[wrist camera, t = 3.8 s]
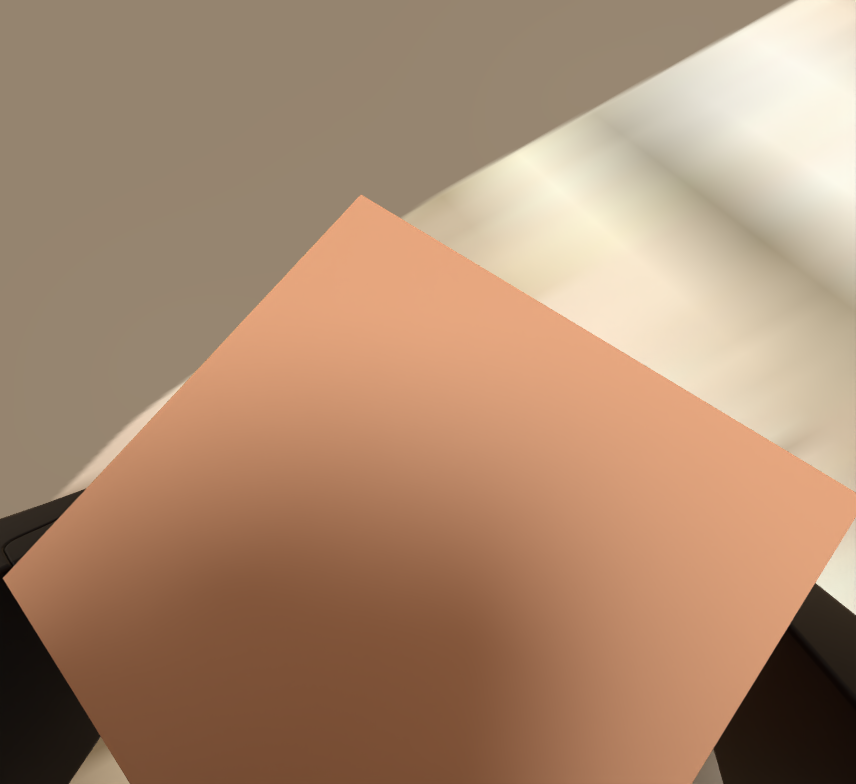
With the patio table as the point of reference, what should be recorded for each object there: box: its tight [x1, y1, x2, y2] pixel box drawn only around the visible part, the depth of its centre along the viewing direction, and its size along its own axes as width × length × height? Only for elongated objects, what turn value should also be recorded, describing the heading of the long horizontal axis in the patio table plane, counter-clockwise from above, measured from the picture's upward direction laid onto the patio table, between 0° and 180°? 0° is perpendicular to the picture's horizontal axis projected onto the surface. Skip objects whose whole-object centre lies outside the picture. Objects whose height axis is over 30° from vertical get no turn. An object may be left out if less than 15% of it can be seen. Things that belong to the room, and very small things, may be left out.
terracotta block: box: [3, 195, 856, 784], centre depth 10 cm, size 6×6×12 cm
